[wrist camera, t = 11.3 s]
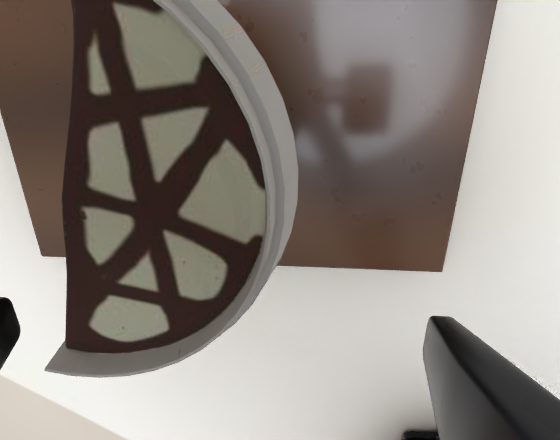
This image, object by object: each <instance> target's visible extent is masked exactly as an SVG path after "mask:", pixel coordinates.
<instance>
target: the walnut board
mask: <svg viewBox="0 0 560 440" xmlns="http://www.w3.org/2000/svg"><path fill="white" fill-rule="evenodd" d="M218 2H219V3H220V4H221V5H222V6H223V7H224V8H225V9H226V10H227V11H228V12H229V14H230V15H231V16H232V17H233V18H234V19H235V20H236V21H237V22H238V23H239V24H240V25H241V27H242V28H243V30H244V31H245V33H246V34H247V36H248V37H249V39H250V40H251V41H252V43H253V44H254V46H255V47H256V49H257V50H258V52H259V53H260V55H261V56H262V58H263V59H264V61H265V62H266V64H267V67H268V69H269V71H270V73H271V75H272V77H273V79H274V81H275V83H276V85H277V87H278V89H279V91H280V94H281V96H282V98H283V101H284V104H285V107H286V111H287V114H288V117H289V121H290V124H291V127H292V130H293V134H294V141H295V148H296V155H297V162H298V202H297V207H296V211H295V216H294V221H293V226H292V231H291V234H290V236H289V239H288V241H287V244H286V247H285V249H284V252H283V254H282V257H281V259H280V260H279V262H278V264H277V266H302V267H328V268H353V269H378V270H404V271H429V272H442V270H443V265H444V260H445V255H446V250H447V245H448V240H449V236H450V231H451V226H452V221H453V216H454V211H455V206H456V201H457V196H458V191H459V186H460V181H461V177H462V172H463V167H464V162H465V157H466V152H467V147H468V142H469V137H470V132H471V127H472V122H473V118H474V113H475V108H476V103H477V98H478V93H479V88H480V83H481V78H482V73H483V68H484V63H485V59H486V54H487V49H488V44H489V39H490V34H491V29H492V24H493V19H494V14H495V9H496V4H497V0H218ZM72 65H73V12H72V4H71V0H0V111H1V115H2V118H3V122H4V125H5V129H6V132H7V136H8V139H9V143H10V146H11V150H12V153H13V157H14V160H15V164H16V167H17V171H18V175H19V178H20V182H21V185H22V189H23V192H24V196H25V199H26V203H27V206H28V210H29V213H30V217H31V220H32V224H33V227H34V231H35V234H36V238H37V241H38V245H39V248H40V252H41V255H42V256H48V257H66V250H65V240H64V231H63V215H62V190H63V177H64V165H65V155H66V146H67V138H68V129H69V117H70V104H71V90H72Z"/></svg>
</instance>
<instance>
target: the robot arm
mask: <svg viewBox="0 0 560 440" xmlns="http://www.w3.org/2000/svg"><path fill="white" fill-rule="evenodd" d="M19 336H20V325H19V322H18V319H17V316H16V313H15V310H14V307H13V304H12V302H11V301H10V300H9V299H8V298H5V297H0V370H1V368H2V366H3V364H4V363H5V361H6V359H7V358H8V356H9V354H10V352H11V351H12V349H13V347H14V346H15V344H16V342H17V340H18V338H19ZM423 360H424V365H425V370H426V375H427V380H428V385H429V390H430V395H431V400H432V405H433V410H434V415H435V420H436V425H437V429H438V433H425V432H407V433H405V434H404V435H403V438H402V440H560V400H559V399H558V398H557V397H555V396H554V395H553V394H551V393H550V392H549V391H547V390H546V389H545V388H543V387H542V386H541V385H540V384H538V383H537V382H536V381H534V380H533V379H532V378H530V377H529V376H528V375H526V374H525V373H524V372H523V371H521V370H520V369H519V368H517V367H516V366H515V365H513V364H512V363H511V362H509V361H508V360H507V359H506V358H504V357H503V356H502V355H500V354H499V353H498V352H496V351H495V350H494V349H493V348H491V347H490V346H489V345H487V344H486V343H485V342H483V341H482V340H481V339H479V338H478V337H477V336H476V335H474V334H473V333H472V332H470V331H469V330H468V329H466V328H465V327H464V326H462V325H461V324H460V323H459V322H457V321H456V320H455V319H453V318H452V317H446V316H432V317H430V318H429V320H428V324H427V329H426V334H425V340H424V345H423Z"/></svg>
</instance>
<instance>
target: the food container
mask: <svg viewBox="0 0 560 440" xmlns="http://www.w3.org/2000/svg"><path fill="white" fill-rule="evenodd" d="M71 4H72V12H73V65H72V90H71V104H70V117H69V129H68V138H67V146H66V155H65V165H64V177H63V190H62V215H63V231H64V240H65V250H66V265H67V299H66V339H65V341H64V343H63V344H62V345H61V347H60V348H59V350H58V351H57V352H56V354H55V355H54V357H53V358H52V359H51V361H50V362H49V364H48V365H47V366H46V368H45V371H48V372H54V373H59V374H65V375H70V376H84V377H99V378H100V377H117V376H129V375H134V374H140V373H145V372H150V371H154V370H157V369H160V368H163V367H166V366H169V365H172V364H175V363H177V362H180V361H182V360H183V359H185V358H187V357H189V356H191V355H193V354H195V353H196V352H198V351H200V350H202V349H203V348H204V347H206V346H207V345H208V344H210V343H211V342H212V341H213V340H215V339H216V338H217V337H219V336H220V335H221V334H222V333H223V332H225V331H226V330H227V329H229V328H230V327H231V326H233V325H234V324H235V323H236V322H237V321H238V319H239V318H240V317H241V316H242V315H243V314H244V313H245V312H246V311H247V310H248V309H249V307H250V306H251V305H252V304H253V302H254V301H255V299H256V298H257V296H258V294H259V293H260V291H261V290H262V288H263V286H264V285H265V283H266V282H267V280H268V278H269V277H270V275H271V274H272V272H273V270H274V269H275V267H276V265H277V264H278V262H279V260H280V259H281V257H282V254H283V252H284V249H285V247H286V244H287V241H288V239H289V236H290V234H291V231H292V226H293V221H294V216H295V211H296V207H297V202H298V162H297V155H296V148H295V141H294V134H293V130H292V127H291V124H290V121H289V117H288V114H287V111H286V107H285V104H284V101H283V98H282V96H281V94H280V91H279V89H278V87H277V85H276V83H275V81H274V79H273V77H272V75H271V73H270V71H269V69H268V67H267V64H266V62H265V61H264V59H263V58H262V56H261V55H260V53H259V52H258V50H257V49H256V47H255V46H254V44H253V43H252V41H251V40H250V39H249V37H248V36H247V34H246V33H245V31H244V30H243V28H242V27H241V25H240V24H239V23H238V22H237V21H236V20H235V19H234V18H233V17H232V16H231V15H230V14H229V12H228V11H227V10H226V9H225V8H224V7H223V6H222V5H221V4H220V3H219V2H218V0H71Z"/></svg>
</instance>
